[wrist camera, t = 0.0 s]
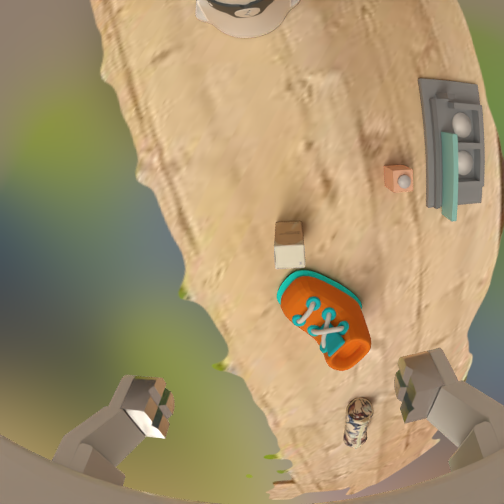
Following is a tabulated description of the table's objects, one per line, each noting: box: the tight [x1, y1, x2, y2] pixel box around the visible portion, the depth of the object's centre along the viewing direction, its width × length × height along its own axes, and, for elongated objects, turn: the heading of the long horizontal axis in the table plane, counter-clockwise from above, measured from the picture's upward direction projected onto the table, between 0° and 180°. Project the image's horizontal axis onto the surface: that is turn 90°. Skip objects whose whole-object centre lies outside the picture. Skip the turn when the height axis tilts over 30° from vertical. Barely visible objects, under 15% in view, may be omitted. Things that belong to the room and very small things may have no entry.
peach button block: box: [384, 165, 413, 193], centre depth 49 cm, size 4×4×6 cm
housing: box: [418, 79, 485, 209], centre depth 44 cm, size 26×15×6 cm, turn 10°
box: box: [274, 221, 305, 269], centre depth 53 cm, size 5×4×11 cm
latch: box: [441, 132, 458, 221], centre depth 46 cm, size 17×1×4 cm, turn 10°
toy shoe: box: [277, 270, 371, 371], centre depth 58 cm, size 12×20×15 cm, turn 60°
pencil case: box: [343, 398, 373, 449], centre depth 80 cm, size 22×8×10 cm, turn 11°
